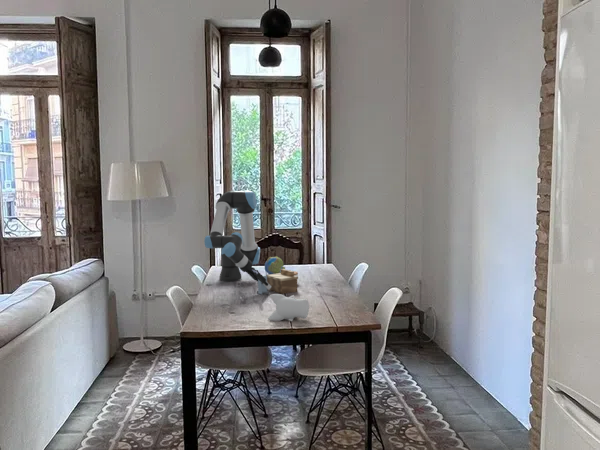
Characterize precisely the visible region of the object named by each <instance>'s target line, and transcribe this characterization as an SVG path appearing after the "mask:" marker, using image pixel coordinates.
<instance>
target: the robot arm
mask: <svg viewBox="0 0 600 450" xmlns="http://www.w3.org/2000/svg"><path fill="white" fill-rule="evenodd" d="M257 205H258V204H257V196H256V194H255V192H254V191H252V190H228V191H226V192H224V193H222V194H221V196H219V198H218V199H217V201H216V203H215V214H214V216H213V221H212V225H211V229H210V234H209V235H206V236H204V241H203V242H204V247H205V248H206V249H221V253H220V254H221V271H220V273H219V277H218V279H220V280H219V281H221V280H223V282H235V280H237V281H240V279H241V280H242V273H241V271H242V272H243V273H246V274H248V275H249V276H250V277H251V278H252V279H253V280H254V281H256V282H257V283H258V280H260V281H261V282H262V283H261V284H263V285H264V286H265V287H266V288H267V289H268V290H267V291H270V290H269V289H270V288H271V287H272V286H271V285H270V284H269V283H268V282H267V281H266V279H265V278H264V277H263V276H262V275H263V274H261V272H260V271H259V270H258V269H256V268H255V267H253V265H258V264H259V262H260V258H261V257H260V256H261V247H259V246H258V244H257V242H256V241H255V240H256V237H255V228H254V227H255V226H254V214H253V213H254V212H255V210H256V209H257V208H258V207H257ZM233 209H236V212H237V214H239V223H240V232H238V231H235V232H232V233H231V234H230V235H223V234H224V233H225V232H224V231H225V226H226V222H227V218H228V214H229V212H230V211H231V210H233Z"/></svg>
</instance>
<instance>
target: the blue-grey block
mask: <svg viewBox="0 0 600 450" xmlns="http://www.w3.org/2000/svg"><path fill="white" fill-rule="evenodd" d="M261 275H262V276H263V277H264V278H265V279H266V281H267V276H266V275H267V274H261ZM261 283H262V282H261V281H260V280H258V282H257V291H258V293H257V294H258V295H262V293H263V292H268V290H267V288H266V287H265V286H264V285H263V284H261ZM262 296H263V295H262Z"/></svg>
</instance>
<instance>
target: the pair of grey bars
mask: <svg viewBox="0 0 600 450" xmlns="http://www.w3.org/2000/svg"><path fill="white" fill-rule="evenodd" d="M256 293H257V294H259V293H258V290H256ZM265 295H270V292H269V291H267V292H263V293H262V296H265Z"/></svg>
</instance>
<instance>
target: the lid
mask: <svg viewBox="0 0 600 450" xmlns="http://www.w3.org/2000/svg"><path fill="white" fill-rule="evenodd" d="M265 275H266V276H267V277H268V278H272V279H275V280H279V281H285V280H292V279H297V280H298V279H299V276H298V277H297V276H294V270H291V269H286V268H285V269H281V273H278V274H265Z"/></svg>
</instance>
